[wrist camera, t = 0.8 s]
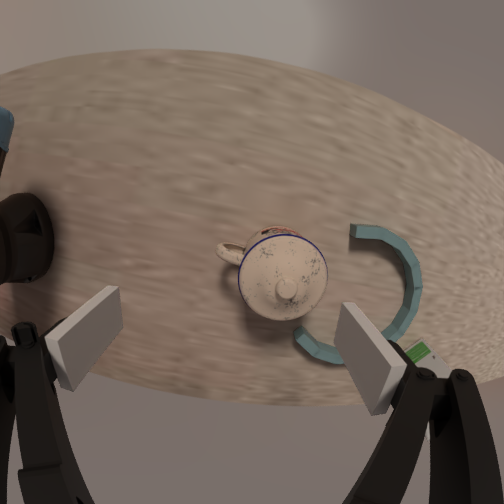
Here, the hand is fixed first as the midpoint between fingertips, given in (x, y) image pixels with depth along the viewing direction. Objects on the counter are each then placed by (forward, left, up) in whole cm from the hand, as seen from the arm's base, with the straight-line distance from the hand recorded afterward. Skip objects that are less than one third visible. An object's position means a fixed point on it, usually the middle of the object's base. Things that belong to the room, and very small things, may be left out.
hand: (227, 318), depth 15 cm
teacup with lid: (+3, 0, -21) cm, 21 cm away
